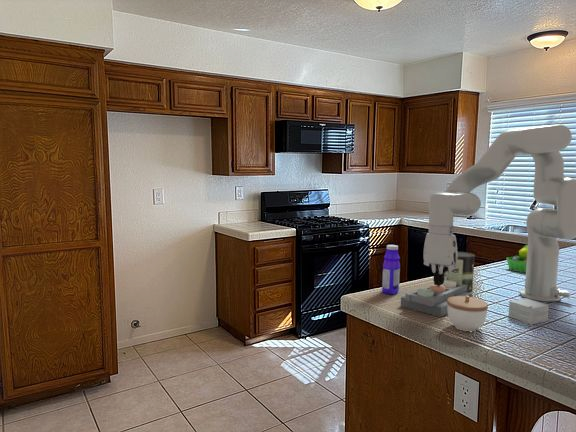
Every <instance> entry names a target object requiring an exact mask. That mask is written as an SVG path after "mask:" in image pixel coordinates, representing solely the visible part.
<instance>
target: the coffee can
mask: <svg viewBox="0 0 576 432" xmlns="http://www.w3.org/2000/svg"><path fill="white" fill-rule="evenodd" d="M475 257H476V255H475V254H474V253H471V252H466V251H457V263H456V264H455V266H456V269H454V270H448V271H446V273H444V280H452V281H455V282H456V283H458V284H463V285H467V291H465V292H468V293H472V294H473V293H474V292H473V290H474V289H473V288H474V272H475V269H474V267H475Z"/></svg>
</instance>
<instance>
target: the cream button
mask: <svg viewBox="0 0 576 432" xmlns="http://www.w3.org/2000/svg"><path fill="white" fill-rule="evenodd" d="M442 285H444V286H445V287H448V288H455V287H456V282H455V281H452V280H444V283H443V284H442Z"/></svg>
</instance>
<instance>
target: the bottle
mask: <svg viewBox="0 0 576 432" xmlns="http://www.w3.org/2000/svg"><path fill="white" fill-rule="evenodd" d="M385 250H386V252H385V254H384V256H383V258H384V260H383V263H382V283H381V284H382V286H381V289H382V290H381V291H382V293H384V294H387V295H395V294H398V292H399V290H400V272H401V263H400V259H401V257H400V255H399V245H395V244H387V245H386V249H385Z"/></svg>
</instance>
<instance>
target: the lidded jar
mask: <svg viewBox="0 0 576 432" xmlns="http://www.w3.org/2000/svg"><path fill="white" fill-rule="evenodd" d="M488 307H489V304H488V303H487V302H486V301H485V300H482V299H480V298H477V297H473V296H472V297H469V296H453V297H449V298H448V299H447V313H448V314H447V317H448V320H449V322H450V323H451V324H452V325H453V327H454V326H455V327H456V328H457V329H456V328H455V327H454V328H455V329H456V330H458V329H460V330H459V331H461V330H464V331H463V332H466V331H474V332H476V330H477V331H478V329H480V328H481V327H482V326H483V325H484V323H485V322H486V318H487V313H488Z"/></svg>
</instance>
